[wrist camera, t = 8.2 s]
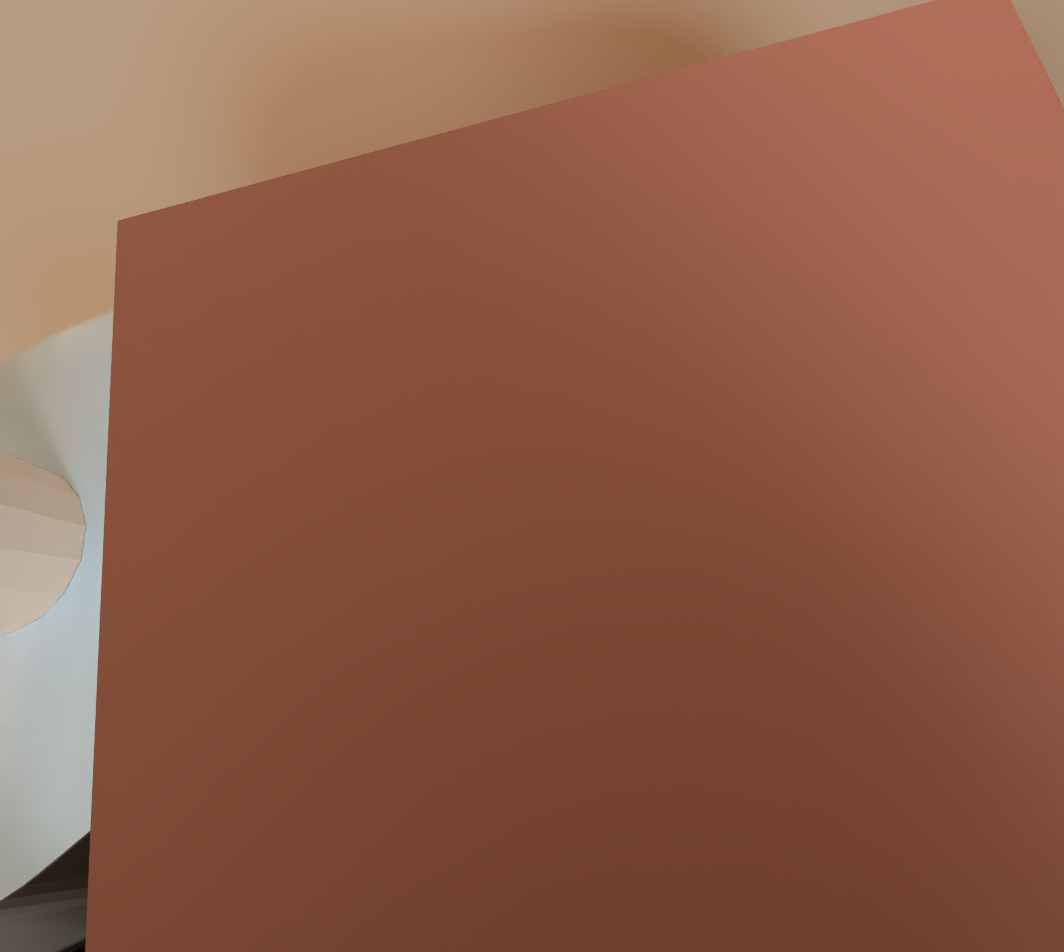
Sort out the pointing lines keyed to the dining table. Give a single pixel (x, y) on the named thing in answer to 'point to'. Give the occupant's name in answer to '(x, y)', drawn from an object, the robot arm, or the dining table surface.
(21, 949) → the robot arm
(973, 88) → the card box
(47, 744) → the dining table surface
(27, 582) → the shot glass
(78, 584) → the dining table surface
